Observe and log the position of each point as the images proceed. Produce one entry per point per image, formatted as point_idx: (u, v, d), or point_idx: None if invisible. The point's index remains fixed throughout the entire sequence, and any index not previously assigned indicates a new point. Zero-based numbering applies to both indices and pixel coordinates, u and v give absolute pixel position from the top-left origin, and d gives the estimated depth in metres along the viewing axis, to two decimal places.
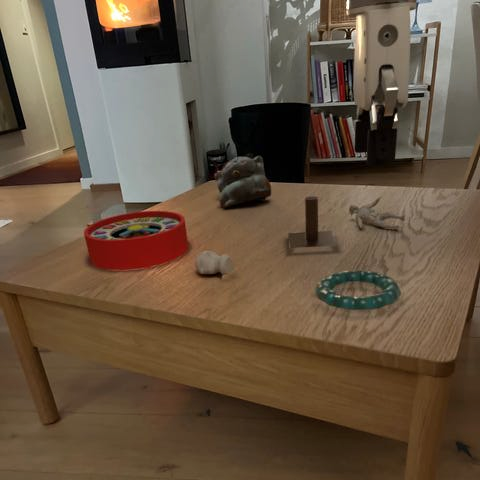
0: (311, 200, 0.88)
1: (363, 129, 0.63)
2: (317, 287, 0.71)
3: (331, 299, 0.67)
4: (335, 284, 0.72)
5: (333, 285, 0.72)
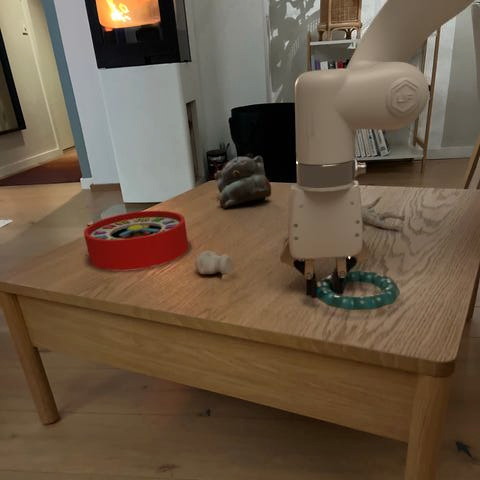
0: None
1: None
2: None
3: (330, 299, 0.67)
4: None
5: None
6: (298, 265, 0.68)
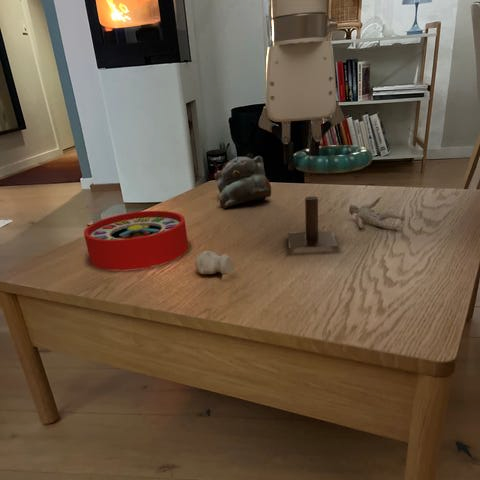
0: (311, 200, 0.88)
1: None
2: (294, 156, 0.74)
3: (306, 159, 0.70)
4: None
5: None
6: (275, 130, 0.71)
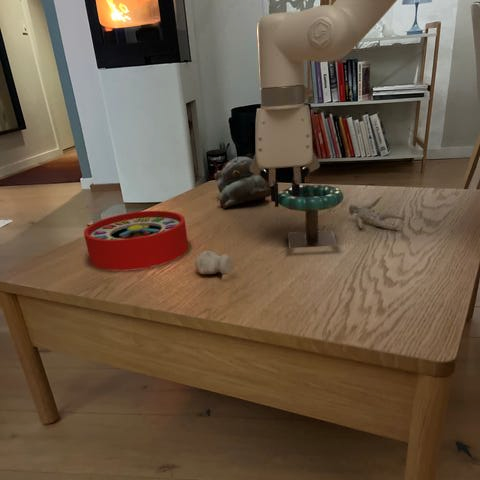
0: None
1: None
2: (279, 194, 0.90)
3: (288, 199, 0.85)
4: None
5: None
6: (263, 174, 0.87)
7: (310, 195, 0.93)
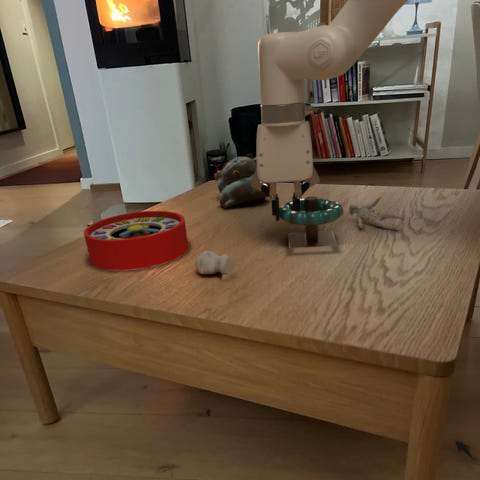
0: (311, 200, 0.88)
1: None
2: (279, 208, 0.91)
3: (289, 214, 0.87)
4: None
5: None
6: (264, 189, 0.88)
7: None
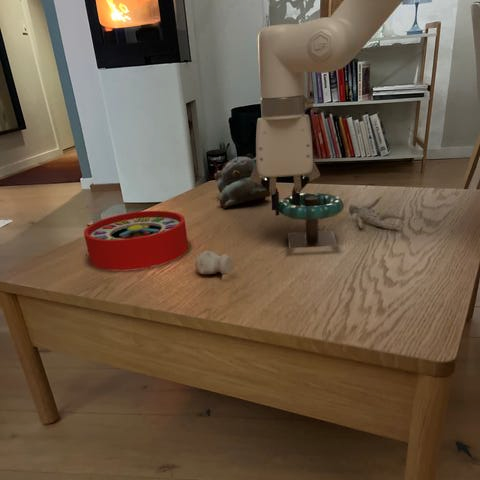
0: (311, 200, 0.88)
1: None
2: (279, 203, 0.90)
3: (289, 208, 0.86)
4: None
5: None
6: (264, 183, 0.88)
7: None
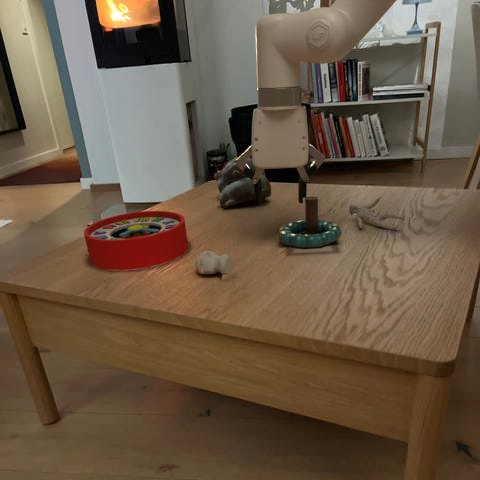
0: (311, 200, 0.88)
1: None
2: (279, 230, 0.93)
3: (288, 236, 0.89)
4: (293, 229, 0.94)
5: (291, 229, 0.94)
6: (247, 171, 0.87)
7: None
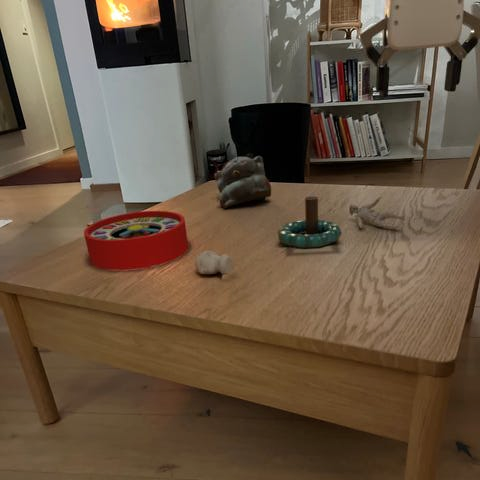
0: (311, 200, 0.88)
1: None
2: (279, 230, 0.93)
3: (288, 236, 0.89)
4: (293, 229, 0.94)
5: (291, 229, 0.94)
6: (371, 51, 0.68)
7: None
